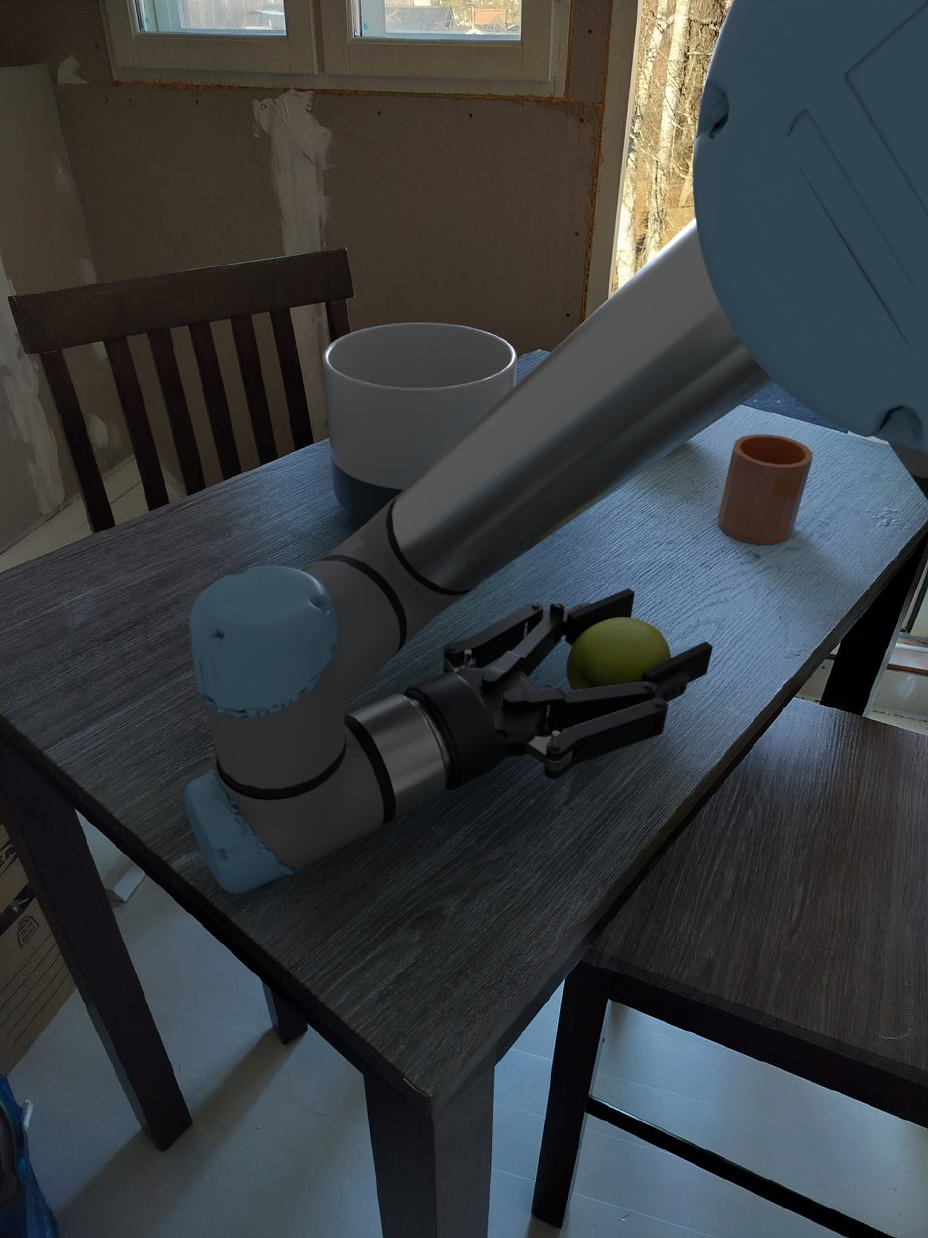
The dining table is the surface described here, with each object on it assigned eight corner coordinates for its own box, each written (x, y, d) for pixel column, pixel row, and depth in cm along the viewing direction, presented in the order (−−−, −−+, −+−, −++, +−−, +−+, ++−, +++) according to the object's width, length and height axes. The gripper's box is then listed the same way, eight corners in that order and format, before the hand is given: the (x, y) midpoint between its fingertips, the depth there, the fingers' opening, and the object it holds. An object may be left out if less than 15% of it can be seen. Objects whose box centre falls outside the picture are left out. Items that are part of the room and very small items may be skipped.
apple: (540, 715, 68) (546, 637, 64) (601, 661, 74) (611, 584, 69) (624, 761, 64) (637, 681, 60) (682, 699, 70) (698, 621, 65)
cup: (803, 524, 93) (825, 449, 88) (771, 552, 88) (792, 474, 83) (738, 501, 97) (755, 427, 92) (704, 526, 93) (720, 450, 87)
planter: (525, 549, 88) (535, 384, 78) (338, 561, 86) (323, 394, 76) (493, 465, 104) (498, 318, 93) (334, 474, 101) (320, 324, 91)
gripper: (354, 698, 66) (578, 604, 77) (511, 884, 53) (758, 740, 63) (347, 621, 62) (586, 532, 72) (517, 803, 48) (781, 662, 59)
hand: (666, 629), depth 68 cm, fingers closed on apple, 8 cm apart
